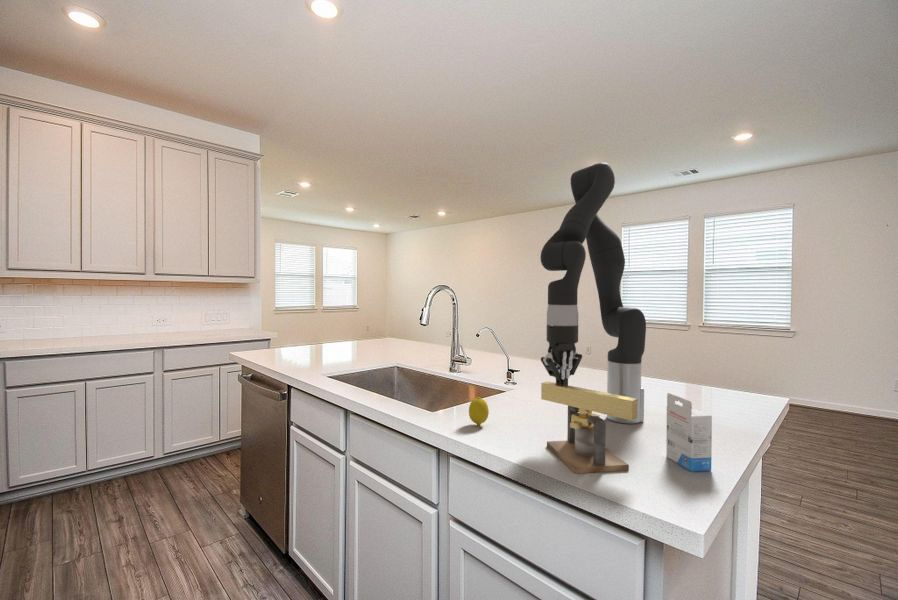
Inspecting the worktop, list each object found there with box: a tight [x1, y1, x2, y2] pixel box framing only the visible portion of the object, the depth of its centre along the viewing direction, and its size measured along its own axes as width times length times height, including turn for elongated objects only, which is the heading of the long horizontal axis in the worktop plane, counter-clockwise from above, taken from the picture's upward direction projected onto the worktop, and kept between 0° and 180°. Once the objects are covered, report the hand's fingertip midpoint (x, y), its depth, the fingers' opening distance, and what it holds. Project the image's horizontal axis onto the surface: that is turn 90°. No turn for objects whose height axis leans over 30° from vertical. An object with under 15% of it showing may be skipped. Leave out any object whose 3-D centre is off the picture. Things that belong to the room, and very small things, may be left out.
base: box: [546, 405, 630, 475], centre depth 91 cm, size 12×15×10 cm
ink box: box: [665, 392, 713, 472], centre depth 88 cm, size 9×5×15 cm, turn 5°
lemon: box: [468, 396, 490, 426], centre depth 113 cm, size 6×6×8 cm
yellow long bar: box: [540, 381, 638, 429], centre depth 91 cm, size 10×22×8 cm, turn 42°
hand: (561, 393), depth 99 cm, fingers closed
